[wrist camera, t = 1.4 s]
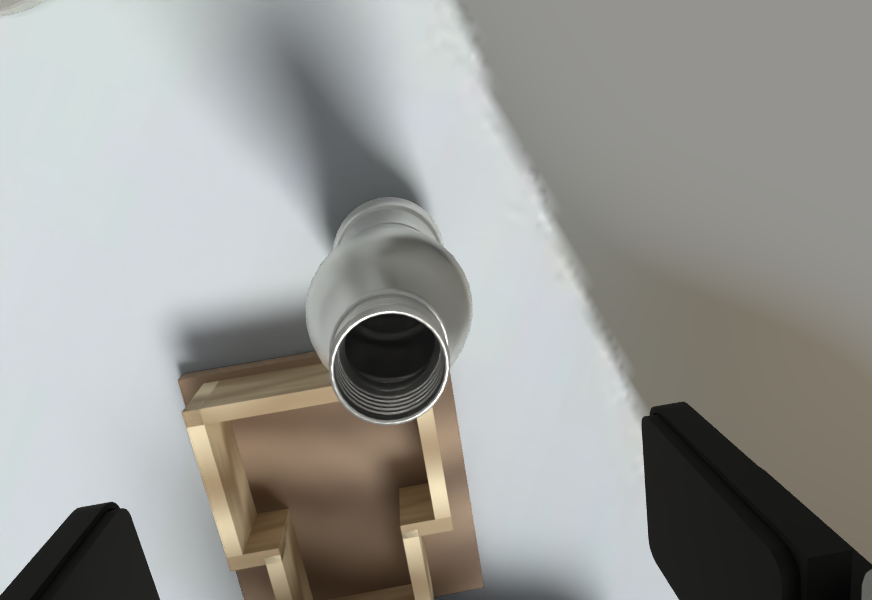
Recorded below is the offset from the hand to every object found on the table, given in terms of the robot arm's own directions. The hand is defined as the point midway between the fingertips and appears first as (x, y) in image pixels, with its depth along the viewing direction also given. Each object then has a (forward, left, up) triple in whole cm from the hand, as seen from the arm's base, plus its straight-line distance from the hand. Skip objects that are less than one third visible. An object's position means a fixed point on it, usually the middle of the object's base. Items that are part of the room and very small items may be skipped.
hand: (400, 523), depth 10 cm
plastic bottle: (0, 0, -27) cm, 27 cm away
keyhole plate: (+16, -6, -27) cm, 32 cm away
